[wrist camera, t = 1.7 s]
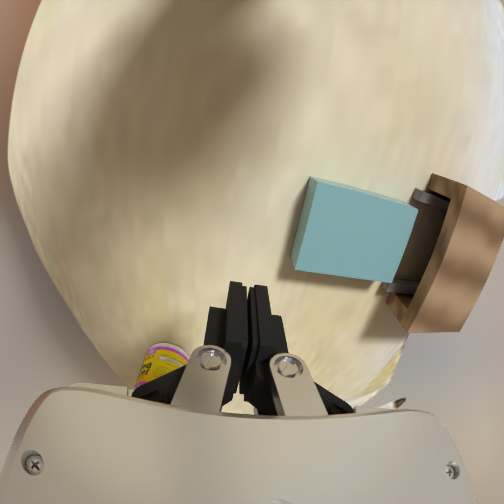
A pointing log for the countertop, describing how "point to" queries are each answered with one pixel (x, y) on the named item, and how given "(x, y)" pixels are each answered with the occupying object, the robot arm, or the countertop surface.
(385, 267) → the pale blue foam block
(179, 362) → the supplement bottle
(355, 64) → the countertop surface
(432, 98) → the countertop surface
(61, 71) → the countertop surface
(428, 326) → the shelf dock
